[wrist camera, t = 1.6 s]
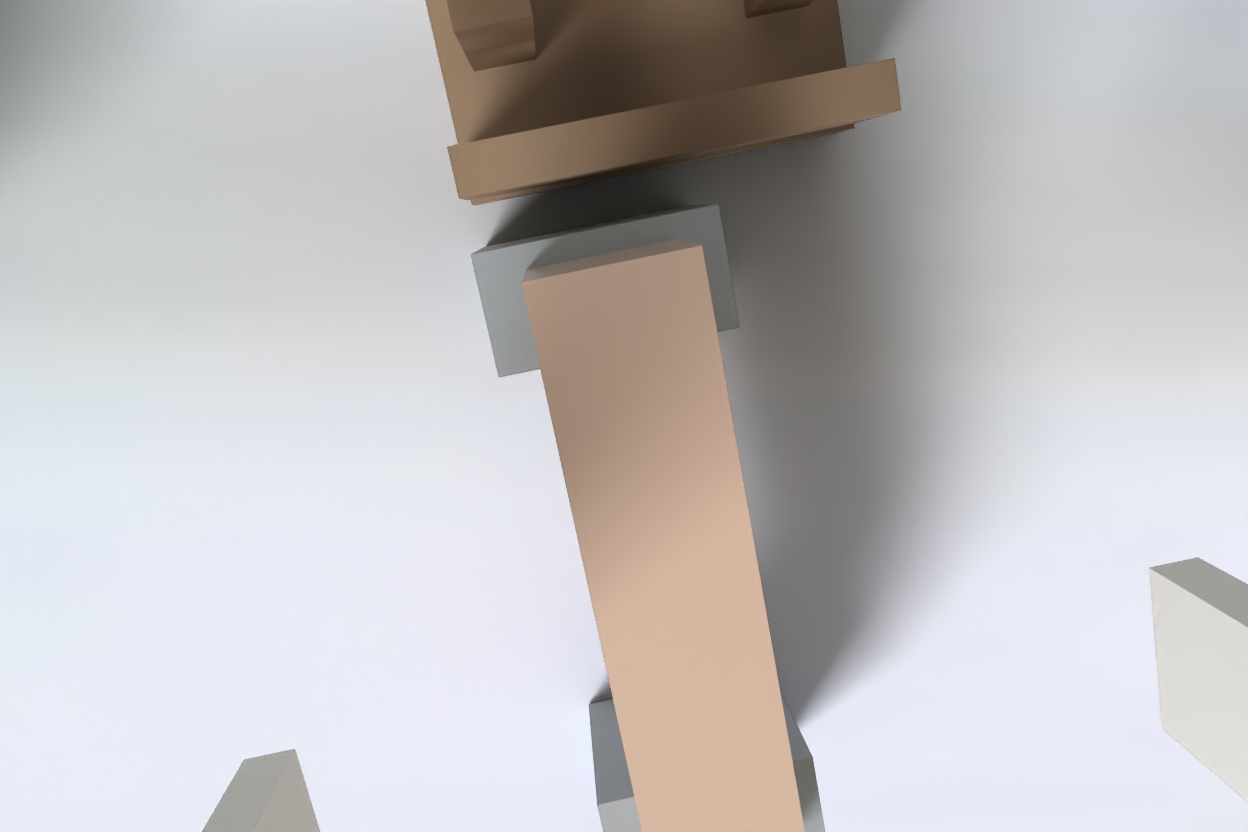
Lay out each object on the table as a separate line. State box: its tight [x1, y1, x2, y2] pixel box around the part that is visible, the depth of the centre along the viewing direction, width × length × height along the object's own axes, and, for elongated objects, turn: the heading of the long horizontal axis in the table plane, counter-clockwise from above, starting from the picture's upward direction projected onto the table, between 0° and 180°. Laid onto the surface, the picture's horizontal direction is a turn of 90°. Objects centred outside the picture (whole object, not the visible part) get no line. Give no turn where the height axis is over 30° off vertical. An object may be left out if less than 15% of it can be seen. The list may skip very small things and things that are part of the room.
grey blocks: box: [471, 204, 825, 832], centre depth 23 cm, size 5×15×4 cm, turn 11°
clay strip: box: [521, 240, 805, 832], centre depth 19 cm, size 3×14×4 cm, turn 11°
